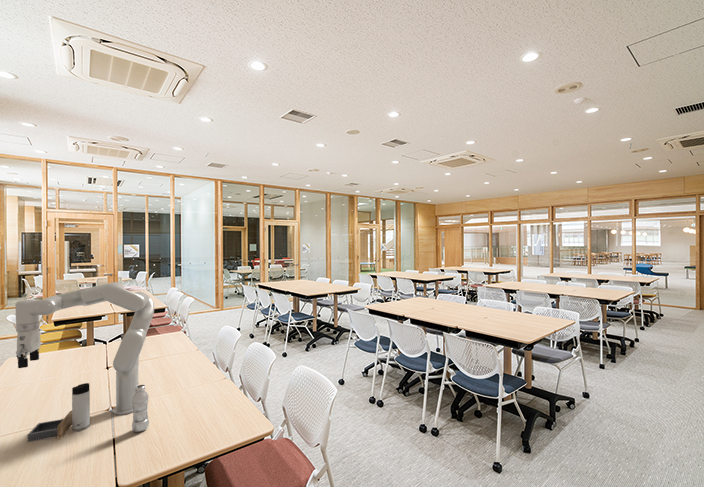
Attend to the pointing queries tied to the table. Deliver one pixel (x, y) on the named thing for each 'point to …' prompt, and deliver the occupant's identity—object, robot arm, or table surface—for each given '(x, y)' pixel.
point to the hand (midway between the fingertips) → (28, 363)
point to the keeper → (44, 430)
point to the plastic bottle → (140, 409)
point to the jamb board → (64, 425)
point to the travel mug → (80, 407)
